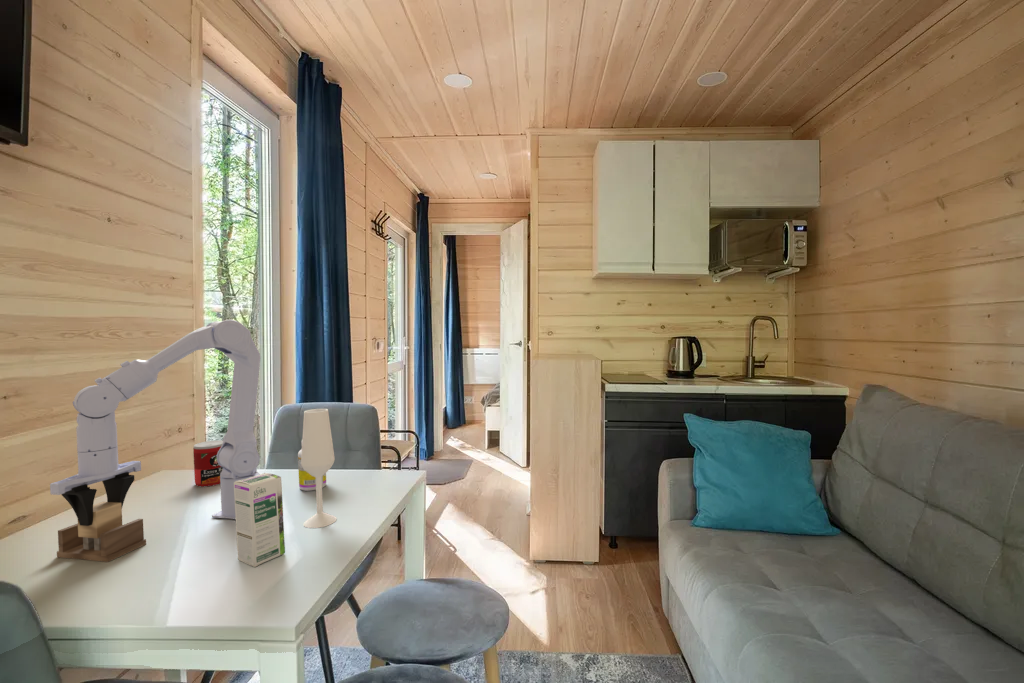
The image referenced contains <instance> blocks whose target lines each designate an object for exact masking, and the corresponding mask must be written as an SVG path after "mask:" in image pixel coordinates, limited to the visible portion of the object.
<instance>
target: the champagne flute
mask: <svg viewBox="0 0 1024 683" xmlns="http://www.w3.org/2000/svg"><path fill="white" fill-rule="evenodd" d="M330 421H331V420H330V414H329V409H328V408H315V409H314V408H313V409H306V410H304V412H303V424H302V425H303V426H302V439H301V440H302V445H301V449H302V453H301V466H302V467H303V469H304V470H305V471H306V472H308V473H309V474H310V475H312V476H314V477H316V490H315V493H316V499H315V500H316V513H315V514H314V515H312V516H311V517H309V518H308V519H306V520H305V521H304V522H303V524H302V526H303V527H305V528H309V529H317V528H324V527H327V526H330V525H332V524H334V523H335V522H337V517H336V516H335V515H332V514H329V513H326V512H324V511H323V510H324V507H323V505H324V502H323V488H322V476H323V475H324V474H325V473H326V474H327V473H328V472H329V470H330V469H331V468H332V467H333V465H334V464H335V463H334V462H335V461H336V460H335V451H334V444H333V436H332V435H333V434H332V430H331V422H330Z"/></svg>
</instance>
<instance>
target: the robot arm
mask: <svg viewBox="0 0 1024 683" xmlns="http://www.w3.org/2000/svg"><path fill="white" fill-rule="evenodd" d="M251 333H252V332H251V330H250V329H249V328H247V327H246V326H245V325H244V324H242V323H241V322H239V321H238V320H235V319H225V320H221V321H219V320H216V321H215V320H214V321H212V322H209V323H208V324H206V326H201V327H199V328H197V329H195V330H193V331H191V332H189V333H187V334H186V335H183V336H182V337H181V338H179V339H178V340H176V341H174V342H173V343H171V344H170V345H168V346H167V347H165V348H164V349H162V350H161V351H159V352H158V353H156V354H154V355H152V356H151V357H149V358H148V359H146V360H145V359H144V360H143V359H133V360H132V361H129V360H125V361H123V362H121V363H120V366H121V367H120V368H118V369H116V370H114V371H113V372H111V373H109V374H108V375H106V376H105V377H98V378H96V379H94V382H95V383H96V384H97V385H96V384H94V385H88V386H86V387H84V388H82V389H80V390H79V391H78V392H77V393H76V394H75V396H74V399H73V401H72V405H73V407H74V409H75V410H76V412H78V413H77V415H76V416H77V417H76V423H77V426H76V428H75V429H76V430H75V431H76V449H77V450H76V451H77V468H78V469H77V470H78V472H77V474H74V475H72V476H68V477H66V478H63V479H61V480H58V481H55V482H51V483H50V484H49V490H50V491H49V492H50V495H56V496H59V495H60V496H62V497H63V498H64V499H65V500H66V501H67V503H68V504H69V505H70V507H71V508H72V510H73V511H74V514H75V516H76V519H77V522H78V521H79V523H80V525H82V526H89V525H92V523H93V505H94V502H95V497H96V493H97V491H98V489H96V488H90V485H94V484H96V483H99V482H102V484H103V486H104V490H105V493H106V498H107V499H106V500H107V501H106V502H117V503H121V506H122V507H124V506H123V505H124V503H125V499H126V496H127V494H128V492H129V489H130V487H131V486H132V485H133V483H134V482H135V475H134V474H130V473H133V472H134V473H135V472H136V473H137V472H140V471H142V462H141V461H140V460H131V461H127V462H122V463H119V446H118V444H119V443H118V426H117V424H118V423H117V422H116V411H117V409H118V407H119V405H120V403H121V402H127V401H128V400H129V399H131V398H133V397H134V396H136V395H137V394H139V393H140V392H142V391H144V390H145V389H147V388H148V387H150V386H152V385H153V384H155V383H156V382H157V380H158V376H159V373H160V372H161V371H163V370H165V369H166V368H168V367H170V366H172V365H174V364H175V363H177V362H179V361H181V360H182V359H183V358H185V357H187V356H189V355H191V354H192V353H195V352H196V351H200V350H208V349H209V350H210V349H215V350H217V351H218V352H219V351H220V352H222V353H223V354H224V355H225V356H226V357H227V358H228V359H229V360H231V361H232V362H233V372H232V374H233V375H232V381H231V382H232V383H231V391H230V392H231V393H230V402H229V410H228V412H229V413H228V422H227V431H226V433H225V434H224V436H223V439H222V441H223V444H222V446H221V448H220V449H219V451H218V453H217V462H218V464H219V465H220V466H221V467H223V469H222V472H221V474H220V484H219V485H220V503H221V506H220V507H221V508H220V509H221V510H220V511H218V512H216V513H214V514H212V515H211V518H214V519H215V518H217V519H230V520H236V516H235V498H234V482H235V481H238V480H243V479H246V478H250V477H254V476H257V475H261V474H262V473H259V472H258V471H257V468H258V467H259V464H260V461H261V460H260V459H261V458H260V454H259V451H258V449H257V446H258V443H257V442H258V441H257V439H256V436H255V435H256V434H254V427H255V426H254V425H255V415H256V406H257V405H256V404H257V396H258V389H259V388H258V387H259V379H260V378H259V375H260V366H261V365H260V364H261V353H260V352H259V350H258V348H257V346H256V344H255V342H254V340H253V338H252V334H251Z"/></svg>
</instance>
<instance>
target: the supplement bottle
mask: <svg viewBox="0 0 1024 683" xmlns="http://www.w3.org/2000/svg"><path fill="white" fill-rule="evenodd" d="M300 445H301V446H302V439H301V444H300ZM301 453H302V448H301V449H300V450H299V451H298V453H297V464H298V465H297V467H298V470H297V471H298V487H299V489H300V490H301V491H306V492H310V491H316V477H314V476H312V475H310V474H309V473H308V472H306V471H305V470H304V469H303V467H302V466H301ZM326 485H327V472H326V473H325V474H324V475H323V476H322V489H323V488H324V487H325V486H326Z"/></svg>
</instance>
